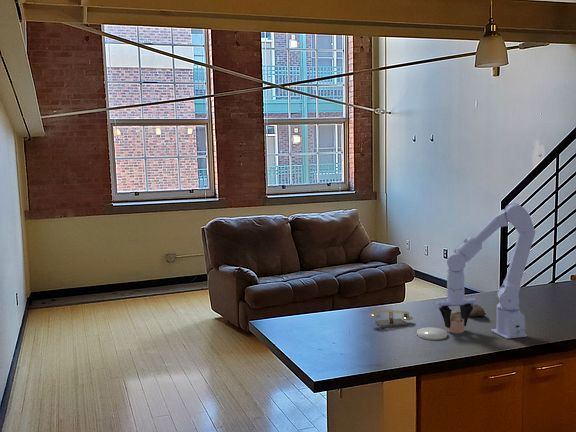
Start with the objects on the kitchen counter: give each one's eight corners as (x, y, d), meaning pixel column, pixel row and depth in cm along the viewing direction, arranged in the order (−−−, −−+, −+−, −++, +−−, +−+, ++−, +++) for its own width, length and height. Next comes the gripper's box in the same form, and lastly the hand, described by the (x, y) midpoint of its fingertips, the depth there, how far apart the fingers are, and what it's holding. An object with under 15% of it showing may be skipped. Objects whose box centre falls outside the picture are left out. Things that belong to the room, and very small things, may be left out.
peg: (462, 331, 203) (462, 313, 202) (453, 332, 202) (453, 314, 202) (457, 329, 206) (457, 310, 206) (448, 329, 206) (448, 311, 205)
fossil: (483, 304, 216) (459, 295, 222) (477, 314, 214) (453, 304, 221) (488, 316, 222) (464, 306, 229) (482, 325, 221) (459, 315, 227)
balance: (416, 324, 213) (416, 307, 212) (372, 328, 209) (372, 311, 208) (408, 320, 219) (408, 303, 218) (366, 324, 215) (366, 307, 214)
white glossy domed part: (452, 338, 196) (452, 334, 196) (425, 341, 194) (425, 337, 194) (438, 329, 206) (438, 326, 206) (411, 332, 204) (411, 329, 204)
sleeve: (467, 332, 202) (467, 320, 202) (452, 333, 201) (452, 322, 200) (458, 327, 208) (458, 316, 207) (444, 329, 206) (444, 318, 206)
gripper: (468, 283, 208) (468, 321, 210) (431, 287, 205) (431, 324, 206) (479, 288, 201) (479, 326, 203) (440, 291, 198) (440, 330, 199)
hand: (455, 326), depth 204 cm, fingers closed on sleeve, 6 cm apart
